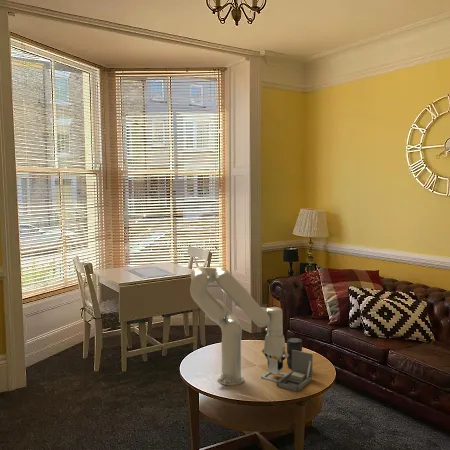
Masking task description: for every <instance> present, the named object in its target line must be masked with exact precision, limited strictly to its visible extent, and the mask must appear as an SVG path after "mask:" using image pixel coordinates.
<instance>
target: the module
mask: <svg viewBox="0 0 450 450" xmlns="http://www.w3.org/2000/svg"><path fill="white" fill-rule="evenodd" d="M268 359H269V367H268V372H269V373H270V374H275V375H280V374H279V373H282V372H283V368H282V369H280V370H279V369H278V362H279V358H278V357H276V356H271V357H269V358H268Z"/></svg>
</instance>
